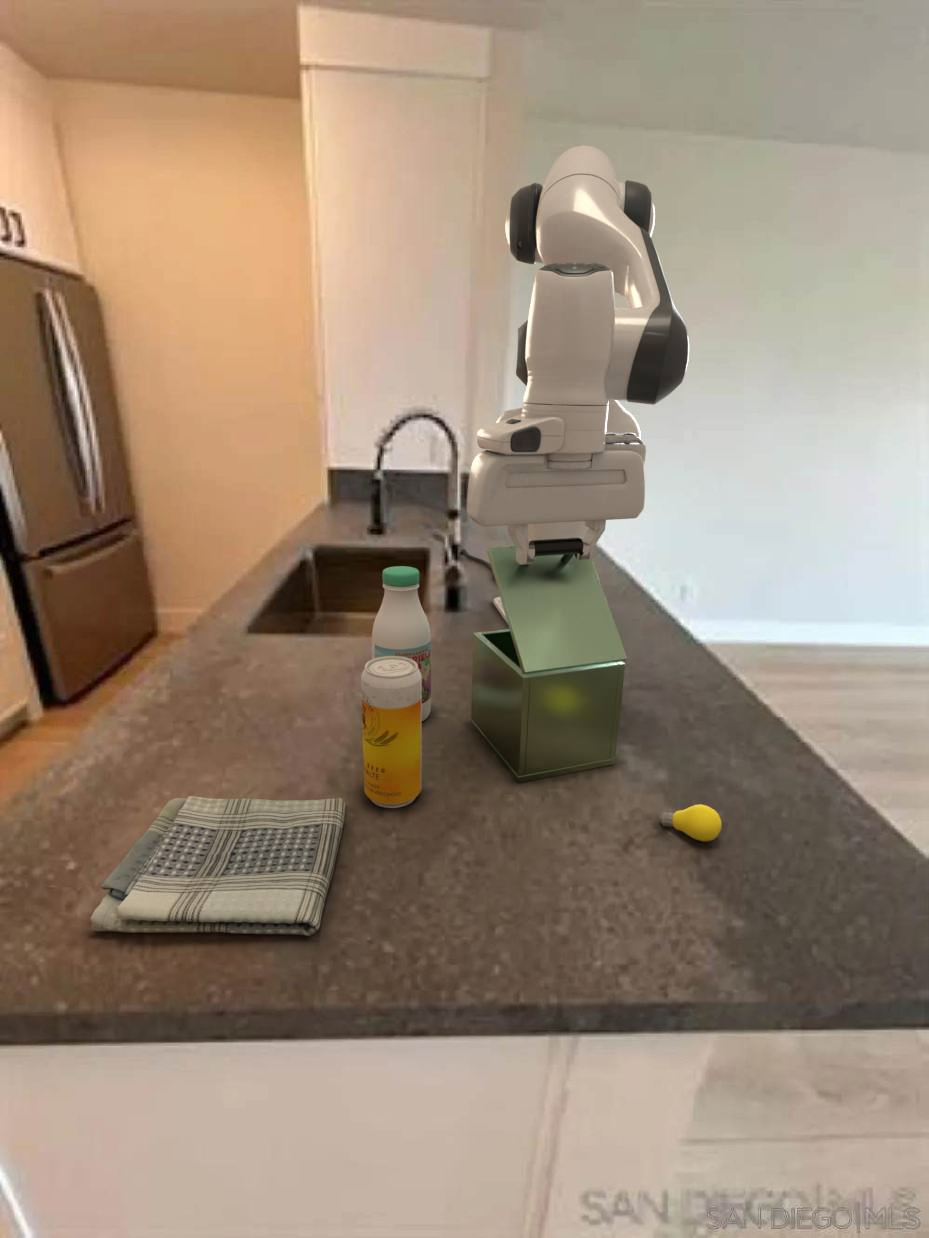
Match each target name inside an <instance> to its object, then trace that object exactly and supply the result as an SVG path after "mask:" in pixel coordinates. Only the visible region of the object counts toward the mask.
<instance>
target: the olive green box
mask: <svg viewBox="0 0 929 1238" xmlns="http://www.w3.org/2000/svg"><path fill="white" fill-rule="evenodd" d="M472 637H473V639H472V673H471V674H472V676H471V708H470V709H471V710H470V712H471V713H470V726H471V727H472V728H473V729H474V731H475V732H476V733H477V734H478V735H479V737H480V738H481V739H482V740H483V742H484V743H485V744H486V745H487V746H488V748H489V749H490V751H491V752H492V753H493V754H494V756H496V758H497V759H498V760H499V762H500V763H501V764H502V765H503V766H504V767H505V769H506V770H507V772H508V773H509V774H510V775H511V777H513V779H514V780H515V781H516V783H517V784H519V783H525V782H530V781H536V780H541V779H545V778H551V777H557V776H562V775H567V774H571V773H577V772H582V771H586V770H593V769H597V768H602V767H607V766H608V767H609V766H613V765H616V758H617V757H616V756H617V747H618V740H619V739H618V738H619V730H620V729H619V728H620V721H621V719H620V718H621V709H622V701H623V691H624V682H625V672H626V671H625V670H626V663H625V662H624V661H623V662H615V663H608V664H600V665H593V666H585V667H578V668H571V669H563V670H556V671H548V672H541V673H533V674H526V675H523V674H522V671H521V667H520V664H519V660H518V657H517V653H516V650H515V646H514V643H513V639H512V636H511V632H510V629H509V628H506V629H497V630H488V631H479V632H473V635H472Z"/></svg>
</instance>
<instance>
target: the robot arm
mask: <svg viewBox="0 0 929 1238" xmlns="http://www.w3.org/2000/svg"><path fill="white" fill-rule="evenodd" d="M655 220H656V211H655V205H654V200H653V199H652V191H651V190H650V189H649V187H648V185H646V184H644V183H642V182H637V181H634V180H627V179H626V180H625V182H623V181H622V182H621V181H619V179H618V176H617V173H616V170H615V167H614V165H613V163H612V161H611V159H610V158H609V157H608V155H607V154H606V153H605V152H604V151H603V150H601V149H599V148H597V147H595V146H592V145H577V146H573V147H571V148H569V149H567V150H565V151H564V152H563V153H561V154H560V155H559V156H557V159H555V161H554V162H553V164H552V165H551V168H550V169H549V170H548V173H547V176H546V178H545V180H544V182H543V183H542V184H541V183H538V182H533V183H531V184H529V185H526V186H523V187H520V188H519V189H518V190H517V191H516V192H515V193H514V194H513V195H512V196H511V199H510V204H509V206H508V209H507V211H506V215H505V225H504V230H505V237H506V241H507V244H508V247H509V250H510V254H511V255H512V257H514V259H515V260H516V261H518V262H520V263H524V264H527V265H533V266H534V265H535V264H543V265H544V266H542V267H540V268H539V269H537V271H536V273H535V277H534V282H533V286H532V292H531V298H530V304H529V310H528V317H527V320H526V321H524V323H523V324H521V325H520V326H519V327H518V329H517V350H516V351H517V352H516V353H517V354H516V368H515V375H516V377H517V378H518V379H519V380H520V381H521V382H522V383H523V384H524V386H525V387H526V388H525V391H524V394H523V397H522V407H519V408H513V409H508V410H505V411H504V412H502V413H501V414H500V415H499V416H498V418H497V419H496V421H495V423H492V424H489V425H486V426H483V427H481V428H480V429H479V430H478V431H477V435H476V436H477V437H476V439H477V442H476V443H477V446H478V448H480V449H483V450H482V451H480V452H479V453H478V454H477V455H476V456H475V457H474V459H473V461H472V463H471V466H470V471H469V476H468V484H467V485H468V486H467V496H466V497H467V498H466V511H467V515H468V516H469V518H470V519H471V520H472V522H474V523H475V524H478V525H479V526H482V527H500V526H507V534H508V535H509V537H510V539H511V541H512V542H513V545H514V546H516V561H517V563H519V564H520V565H525V564H533V563H534V561H535V559H534V555H535V549H534V548H532V547H530V546H528V545H529V542H530V541H531V540H543V539H560V538H577V537H579V538H581V539H582V541H583V551H582V552H581V553H579V554H575V557H576V558H577V559H579V560H591V559H592V560H593V559H594V554H595V545H596V544H597V543H598V541H599V540H600V539H601V537H602V535H603V534H604V532H605V530H606V524H607V521H611V520H613V521H614V520H629V519H630V520H631V519H637V518H638V517H639V516H640V515H641V513H643V510H644V508H645V499H646V497H645V496H646V476H645V463H646V456H647V455H646V454H647V448H646V447H647V446H646V445H645V443H644V441H643V440H642V439H641V430H640V426H639V424H638V422H637V420H636V418H635V417H634V416H633V415H632V413H630V411H628V410H626V409H625V408H624V406H623V405H622V404H621V403H620V402H619V401H624V402H625V401H627V402H628V403H633V404H634V403H635V404H644V405H652V406H654V405H656V404H658V403H659V402H661V401H663V400H664V399H665V398H667V397H669V395H671V394H672V393H673V392H674V391H676V389H678V388H679V387H681V385H682V383H683V381H684V379H685V376H686V372H687V368H688V363H689V357H690V342H689V341H690V340H689V336H688V330H687V329H688V328H687V326H686V323H685V320H684V319H683V317H682V315H681V314H680V313H679V311H678V310H677V308H676V306H675V304H674V301H673V297H672V295H671V291H670V289H669V285H668V282H667V279H666V276H665V273H664V269H663V266H662V264H661V260H660V257H659V254H658V251H657V249H656V246H655V244H654V242H653V239H652V236H653V232H654V228H655V222H656V221H655ZM615 294H616V295H619V296H621V297H622V298H624V299H625V300H626V302H627V306H628V307H626V308H625V307H616V300H615V299H616V295H615ZM527 534H528V542H526V540H525V538H524V536H523V535H527ZM460 551H461V552H459V554H460V553H461V554H460V555H464V556H465V557H466V558H467V559H468V560H471V561H474V562H477V563H480V564H482V565H484V566H486V567H487V568H488V569H489V570H490V571H491V573H492V579H493V580H494V581H495V582H496V580H495V577H494V574H493V570H492V567H491V563H490V562H488V561H487V560H484V559H482V558H479V557H477V556H474V555H471V554H470V553H468V550H467V549H465V548H462V549H461V550H460ZM493 605H494V607H495V608H496V609H497V611H498V612H499V614H500V615H501V617H502V618H503V620H504V621H505V623H506V624H507V625H508V622H507V619H506V615H505V612H504V608H503V605H502V601H501V598H500V596H497V597H494V599H493Z"/></svg>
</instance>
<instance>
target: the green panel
mask: <svg viewBox="0 0 929 1238" xmlns="http://www.w3.org/2000/svg"><path fill="white" fill-rule="evenodd" d="M527 545H528V544H527ZM528 546H530V547H532V548H534V549H535V555H534V559H535V561H534V563H533V564H525V565H520V564H519V563H517V561H516V546H515V545H514V546H513V545H512V546H496V547H488V549H487V551H486V553H487V556H488V559H489V564H491V567H492V570H493V573H492V575H493V574H494V577H495V580H496V581H495V580H494V581H495V583H496V588H497V591H498V594H499V597H500V598H501V601H502V605H503V608H504V612H505V615H506V619H507V622H508V624H507V625H508V629H510V632H511V636H512V639H513V643H514V646H515V650H516V653H517V657H518V660H519V664H520V667H521V671H522V674H523V675H526V674H533V673H541V672H548V671H556V670H563V669H571V668H578V667H585V666H593V665H600V664H608V663H615V662H623V663H624V662H626V661H627V660H628V656H627V653H626V651H625V648H624V644H623V642H622V639H621V637H620V634H619V631H618V628H617V625H616V623H615V620H614V617H613V613H612V611H611V609H610V605H609V603H608V600H607V597H606V594H605V591H604V588H603V586H602V584H601V581H600V578H599V575H598V572H597V569H596V567H595V565H594V564H593V562H594V561H593V559H591V560H579V559H577V558H576V557H575V554H579V553H581V552H582V551H583V541H582V539H581V538H579V537H577V538H560V539H543V540H531V541H530V542H529V545H528ZM507 622H506V623H507Z"/></svg>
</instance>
